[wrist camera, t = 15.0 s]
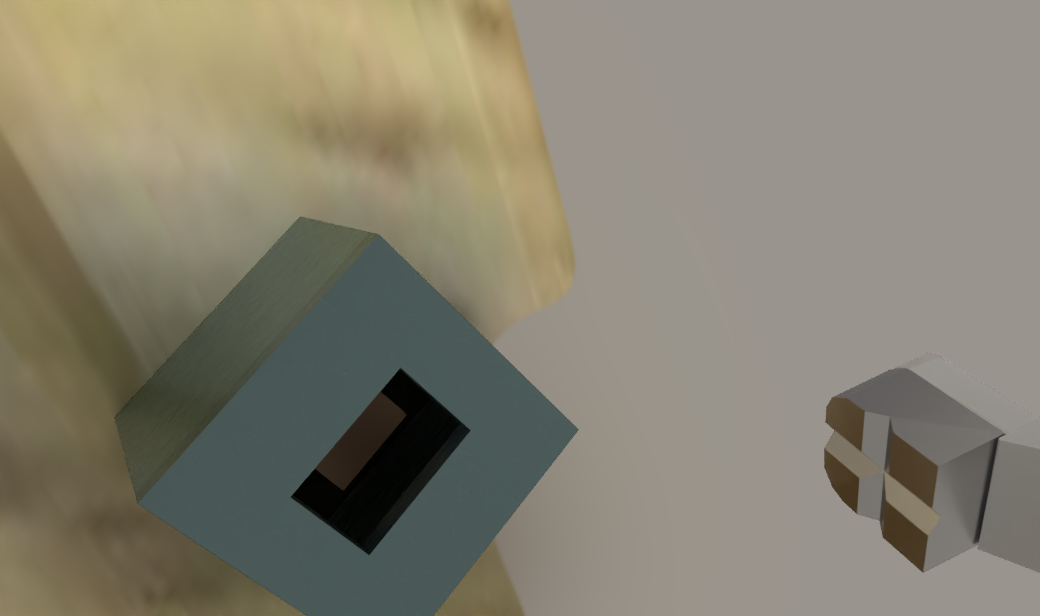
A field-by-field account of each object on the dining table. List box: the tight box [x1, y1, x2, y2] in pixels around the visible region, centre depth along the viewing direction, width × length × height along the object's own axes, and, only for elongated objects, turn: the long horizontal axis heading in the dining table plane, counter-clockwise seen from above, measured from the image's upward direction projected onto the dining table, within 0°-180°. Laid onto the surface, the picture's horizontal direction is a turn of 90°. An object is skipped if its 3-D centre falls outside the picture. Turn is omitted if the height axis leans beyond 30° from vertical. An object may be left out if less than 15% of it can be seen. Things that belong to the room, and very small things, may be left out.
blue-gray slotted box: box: [114, 217, 578, 616], centre depth 37 cm, size 12×12×11 cm
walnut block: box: [315, 392, 407, 491], centre depth 39 cm, size 4×2×8 cm, turn 135°
